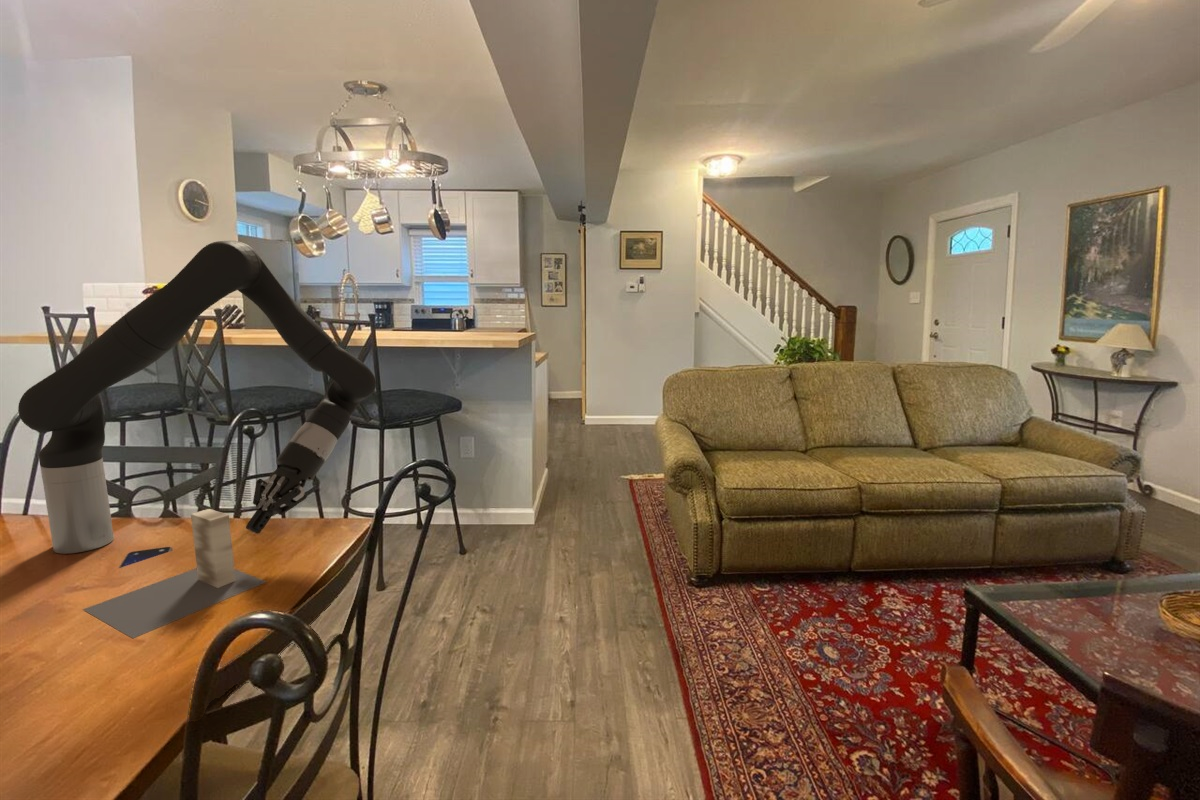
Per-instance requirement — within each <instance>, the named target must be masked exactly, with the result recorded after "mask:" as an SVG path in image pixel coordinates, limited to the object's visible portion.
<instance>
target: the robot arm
mask: <svg viewBox="0 0 1200 800" xmlns="http://www.w3.org/2000/svg"><path fill="white" fill-rule="evenodd" d="M236 291H238V292H240V293H241V294H242V295H244V296H245V297H246V298H247V299H249V300H250V301H252V302H253V304H254V305H256V306H257V307H258V308H259V309H260V310H261V311H262V313H263V314H264V315H265V316H266V317H267V319H268V320H269V322H270V323H271V324H272V326H273V328H275V331H277V333H278V334H279V336H280V338H281V339H282V340H283V342H285V343H286V345H287V346H288V347H289V348H290V349H291V350H292V351H293V352H294V353H295V354H296V355H297V356H298V357H299V358H300V359H302V361H304V362H305V364H306V365H308V366H309V367H310V368H311V369H313V370H314V371H316V372H318V373H319V372H321V373H324V374H325V375H327V376H328V378H330V379H332V382H331V383H330V385H329V386H328V388H327V390H326V391H325V393H324V395H323V397H322V398H321V401H320V402H319V404H317V406H316V407H315V408H314V410H312V412H311V413H310V415H309V417H308V418H307V419H306V421H305V422H304V423H303V424H302V425H301V427H300V428H298V430H297V431H296V432H295V433H294V434H293V436H292V437H291V439H290V440H289V442H288V443H287V444H286V445H285V447H284V449H283V450H282V451H281V452H280V454H279V455H278V456H277V458H276V460H275V461H276V464H277V468H276V469H275V470H274V471H273V472H272V473H271V474H270V476H269V477H268V478H267V479H262V478H258V479H257V480H256V482H255V488H254V493H253V499H252V504H253V505H254V506H255V507H256V511H255V512H254V514H253V515H252V516H251V518H250V519H249V520H248V522H247V523H246V526H245V529H246V530H248V531H250V532H251V533H254V534H260V533H261V532H262V531H263V529H264V528H265V527H266V525H267V524H268V523H269V521H270V519H271V518H273V517H275V516H276V515H279V516H283V515H284V514H285V513H287V512H288V511H289V510H290V511H291V510H292V509H293V508H294V507H296V506H297V505H299V504H301V502H303V501H305V500H306V499H307V498H308V494H307V493H305V492H304V489H303V488H304V487H305V485H306V483H307V481H313V480H314V479H315V477H316V476H317V474H318V473H319V471H320V470H321V468H322V467H323V465H324V464H325V463H326V461H327V459H328V458H329V457H330V455H331V454H332V452H333V451H334V448H335V447H336V444H337V443H338V442H339V441H338V440H340V438H341V437H342V435H343V433H344V432H345V431H346V429H347V427H348V426H349V424H350V420H351V416H352V414H353V413H354V411H355V409H356V408H358V405H359V404H360V403H361V402H362V401H363V400H364V399H366V398H368V397H370V396H371V395H372V394H373V393H374V391H375V390H376V387H377V380H376V376H375V375H374V373H373V372H372V370H371V369H370V368H369V366H368V365H366V364H365V363H364V362H363V361H361V360H360V359H358V358H357V357H356V356H354V355H352V353H350V352H349V351H347V350H346V349H344V348H342V347H341V346H340V345H339V344H338V343H337V342H336V341H335V340H334V339H333V338H332V337H331V336H330V335H329V334H328V333H327V332H326V331H325V330H324V329H323V328H322V327H321V326H320V325H319V324H318V323H317V322H316V321H314V319H313V318H312V317H311V316H310V315H308V313H307V312H306V311H305V310H304V309H303V308H302V307H301V306H300V305H299V304H298V303H297V302H296V300H294V298H292V296H291V295H290V294H289V293H288V291H286V289H285V288H284V287H283V286H282V284H281V283H280V282H279V281H278V279H277V278H276V277H275V275H274V274H273V273H272V271H271V269H269V267H268V266H267V265H266V263H265V262H264V261H263V259H262V258H261V256H260V255H259V253H257V252H256V250H255V249H254V248H253V247H251V246H250V245H248V244H247V243H244V242H242V241H236V240H219V241H218V240H217V241H213V242H211V243H209V244H208V243H207V245H205V246H203V247H202V248H201V249H200V250H199V251H198V252H197V253H196V254H195V255H194V256H193V257H192V258H191V259H190V261H189V262H188V263H187V264H186V265H185V266H184V267H183V268H182V269H181V270H180V271H179V272H178V273H177V274H176V275H175V277H173V278H172V279H171V280H170V281H169V282H167V283H166V284H165V285H163V287H161V288H159V289H158V290H157V291H155V292H154V293H152V294H150V295H149V296H148V297H147V298H145V299H144V300H142V301H140V302H139V303H138V304H137V305H136V306H134V307H133V308H131V309H130V310H129V311H127V312H126V313H125V314H124V315H123V316H121V317H120V318H119V319H118V320H117V321H115V322H114V323H113V324H112V325H110V326H109V328H107V329H106V330H105V331H103V333H102V334H100V335H99V336H98V337H97V338H95V340H93V341H92V342H91V343H90V344H89V345H88V346H85V348H84V349H83V350H82V351H81V352H79V353H78V354H77V356H75V357H74V358H73V359H71V360H70V361H69V362H67V363H66V364H65V365H63V366H62V367H60V368H59V369H58V370H56V371H54V372H53V373H51V374H50V375H48V376H47V377H45V378H43V379H42V380H40V381H38V382H37V383H36V384H34V385H32V386H31V387H29V388H28V389H27V390H26V391H25V392H24V393H23V394H22V396H21V398H20V399H19V401H18V407H17V409H18V410H17V411H18V416H19V418H20V420H21V422H22V423H23V424H24V425H25V426H27V427H29V428H30V429H32V430H35V431H39V432H51V436H50V438H49V440H48V442H47V443H46V444H45V445H44V446H43V447H42V449H40V451H39V452H38V460H39V461H38V462H39V465H40V466H39V467H40V474H41V479H42V486H43V492H44V498H45V504H46V512H47V516H48V523H49V530H50V536H51V543H52V549H53V552H55V553H56V554H66V555H67V554H76V553H77V554H78V553H82V552H87V551H91V550H97V549H98V548H101V547H104V546H106V545H108V544H110V543H111V542H113V541H114V539H115V537H114V530H113V522H112V515H111V508H110V500H109V494H108V487H107V480H106V473H105V467H104V466H105V465H104V458H103V448H104V445H105V441H106V434H105V433H106V432H105V431H106V430H105V419H104V418H105V417H104V416H105V415H104V408H103V401H102V399H101V396H100V394H101V393H102V392H104V391H105V390H106V389H109V388H110V387H112V386H114V385H116V384H118V383H120V382H121V381H123V380H126V379H127V378H130V377H131V376H133V375H135V374H137V373H138V372H141V371H143V370H144V369H146V368H147V367H149V366H151V365H152V364H154V363H156V361H158V360H159V359H160V358H161V357H163V356H164V355H165V354H166V353H168V352H169V351H170V350H172V348H174V347H175V346H176V345H177V344H178V343H179V342H180V341H181V340H182V339H183V338H184V336H186V334H187V333H188V332H189V330H190V329H191V327H192V326H193V324H194V323H195V322H196V320H197V319H199V317H200V316H201V315H202V314H203V313H204V312H205V311H206V310H207V309H209V308H211V307H212V306H214V305H215V304H216V303H217V302H220V301H221V300H222V299H223V298H225V297H227V296H228V295H230V294H231V293H234V292H236Z"/></svg>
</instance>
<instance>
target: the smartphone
mask: <svg viewBox="0 0 1200 800" xmlns="http://www.w3.org/2000/svg"><path fill="white" fill-rule="evenodd" d="M172 551H173V547H171V546H165V547H157V548H155V547H154V548H151V549H150V548H149V549H142V550H135V551H131V552H129V553H126V555H125V556H124V558H123V560H122V561H121V563H120V565H119V567H118V569H121V568H124V567H127V566H130V565H133V564H135V563H138V562H142V561H145V560H148V559H151V558H154V557H157V556H160V555H164V554H167V553H170V552H172Z"/></svg>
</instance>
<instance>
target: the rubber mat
mask: <svg viewBox="0 0 1200 800" xmlns="http://www.w3.org/2000/svg"><path fill="white" fill-rule="evenodd" d="M234 569H235V579H236V581H234V582H231V583H229V584H226V585H224V586H221V587H219V588H217V587H214V586H212V585H210V584H207V583H205V582H203V581H200V580H198V572H197V567H196V568H193V569H190V570H188V571H185V572H182V573H179V574H176V575H173V576H170V577H168V578H166V579H163V580H160V581H157V582H154V583H152V584H149V585H146V586H142V587H141V588H137V589H135V590H132V591H130V592H127V593H124V594H121V595H118V596H116V597H112V598H111V599H108V600H105V601H102V602H99V603H97V604H93V605H90V606H88V607H86V608H83V609H82V611H84V612H85V613H87V614H90V615H91V616H93V617H94V618H96V619H98V620H100V621H101V622H103V623H105V624H107V625H108V626H110V627H111V628H112V629H115V630H117V631H119V632H121V633H123V634H124V635H126V636H128V637H129V638H131V639H135V638H137V637H140V636H142V635H145V634H147V633H150V632H152V631H154V630H157V629H158V628H162V627H164V626H166V625H168V624H171V623H173V622H175V621H178V620H180V619H182V618H185V617H188V616H190V615H192V614H195V613H197V612H199V611H201V610H204V609H206V608H208V607H211V606H213V605H216V604H218V603H220V602H222V601H226V600H228V599H231V598H232V597H235V596H237V595H239V594H242V593H244V592H247V591H249V590H251V589H254V588H256V587H258V586H261V585H264V584H266V583H267V581H266V580H264V579H261V578H258V577H256V576H253V575H251V574H248V573H246V572H244V571H241V570H238V569H236V568H234Z"/></svg>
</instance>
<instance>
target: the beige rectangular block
mask: <svg viewBox="0 0 1200 800" xmlns="http://www.w3.org/2000/svg"><path fill="white" fill-rule="evenodd" d="M190 518H191V528H192V535H193V544H194V551H195V552H194V553H195V563H196V564H195V565H196V568H197V572H198V580H200V581H203V582H205V583H207V584H210V585H212V586H214V587H217V588H219V587H221V586H224V585H226V584H229V583H231V582H234V581H236V579H235V569H236V568H235V561H234V552H233V543H232V541H233V540H232V533H231V524H230V523H231V522H230V515H229V514H227V513H225V512H224V513H223V512H221V511H217V510H214V509H213V508H206V509H204V510H200V511H196V512H194V513H191V514H190Z"/></svg>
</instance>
